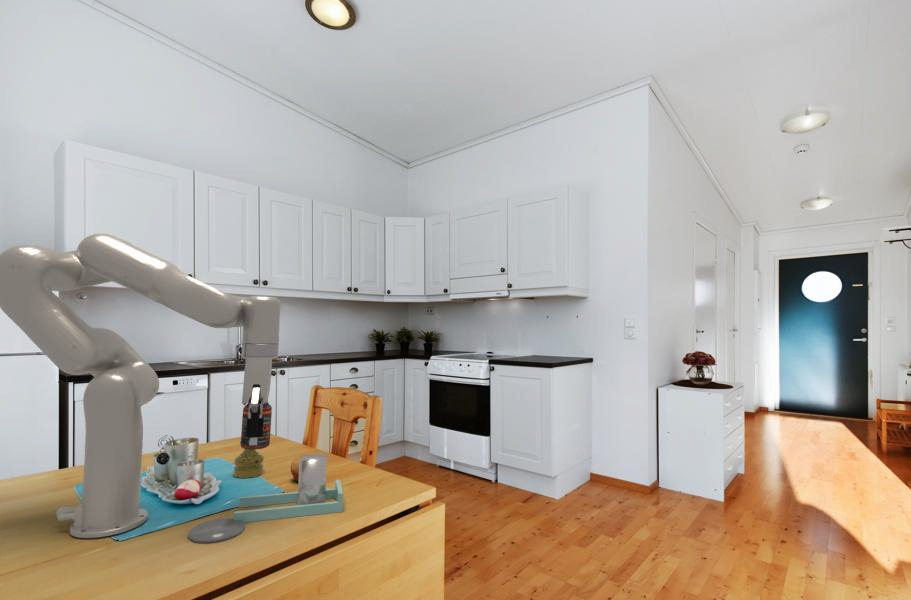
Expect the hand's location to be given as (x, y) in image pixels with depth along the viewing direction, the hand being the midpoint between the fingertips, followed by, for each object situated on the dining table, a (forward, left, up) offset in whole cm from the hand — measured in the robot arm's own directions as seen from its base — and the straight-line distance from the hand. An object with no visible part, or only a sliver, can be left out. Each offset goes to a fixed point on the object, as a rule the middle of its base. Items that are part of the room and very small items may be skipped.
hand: (255, 432), depth 102 cm
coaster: (-6, -8, -17) cm, 20 cm away
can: (+12, 0, -17) cm, 21 cm away
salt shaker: (-4, +28, -18) cm, 33 cm away
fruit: (+11, +19, -18) cm, 28 cm away
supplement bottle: (0, 0, -3) cm, 3 cm away
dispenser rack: (+7, 0, -17) cm, 19 cm away
